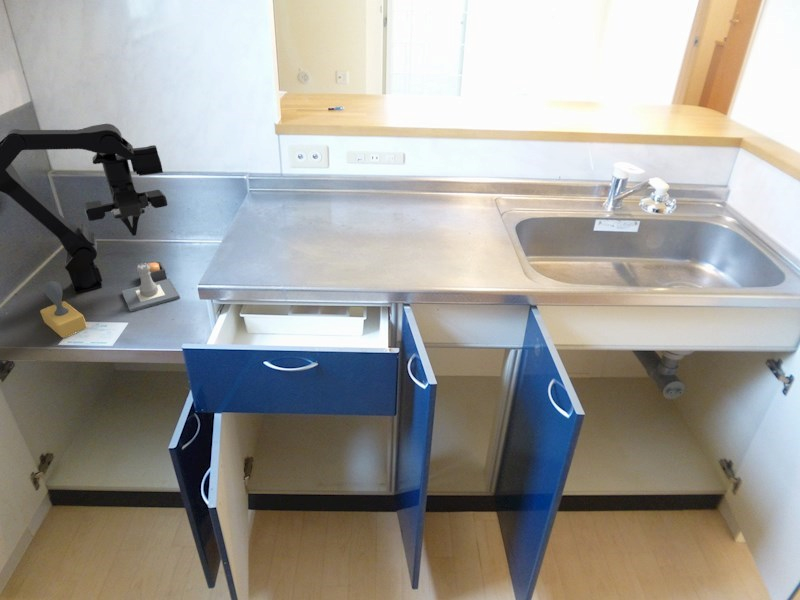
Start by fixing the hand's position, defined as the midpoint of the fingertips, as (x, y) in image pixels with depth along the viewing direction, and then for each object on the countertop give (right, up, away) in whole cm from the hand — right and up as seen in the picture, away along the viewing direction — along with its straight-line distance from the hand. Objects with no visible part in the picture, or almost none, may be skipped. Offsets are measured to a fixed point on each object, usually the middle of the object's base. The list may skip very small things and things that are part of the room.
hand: (134, 235), depth 147 cm
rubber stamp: (-10, -23, -14) cm, 29 cm away
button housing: (+3, -11, +5) cm, 13 cm away
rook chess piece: (+5, -15, -3) cm, 16 cm away
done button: (+3, -10, +5) cm, 11 cm away
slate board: (+5, -16, -2) cm, 17 cm away
